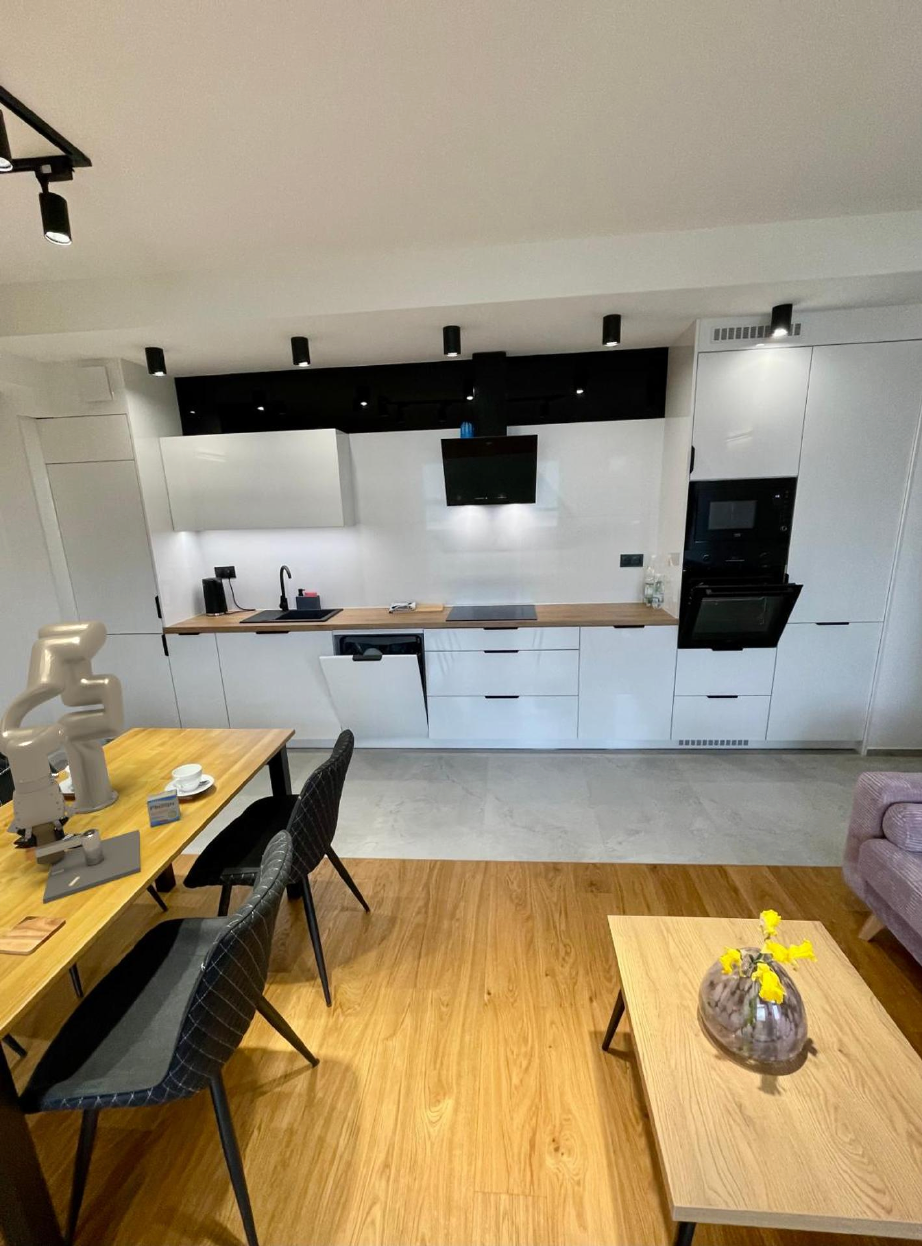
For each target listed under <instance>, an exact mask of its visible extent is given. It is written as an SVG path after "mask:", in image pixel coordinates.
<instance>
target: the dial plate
mask: <svg viewBox="0 0 922 1246" xmlns="http://www.w3.org/2000/svg"><path fill="white" fill-rule="evenodd" d="M101 843H102V848H103V853H104V859H103V860H102V861H101V862H99V863H97V864H94V865H87V864H86V861H85V856H84V851H83V847H82V846H79V847H78V846H77V847H75V848H72V849H71V848H70V849H69V850H68V849H67V850H65V854H64V856H63V857H61V858H60V859H59V860H57V861H55V862H52V863H50V867H49V872H48V876H47V878H46V879H47V880H46V884H45V888H44V892H43V897H42V903H43V904H44V905H45V904H47V903H48V904H49V903H50V902H53V901H56V900H59V899H62V898H66V897H68V896H71V895H74V894H77V893H80V892H84V891H85V890H86V891H87V890H90V889H92V888H95V887H99V886H102V885H105V884H107V883H110V882H113V881H116V880H119V879H122V878H125V877H128V876H131V875H135V874H137V873H140V872H141V843H140V829H136V830H133V831H132V830H131V831H130V832H125V833H123V834H119V835H116V836H115V835H114V836H112V837H109V838H106V839H101Z"/></svg>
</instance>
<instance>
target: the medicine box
mask: <svg viewBox="0 0 922 1246" xmlns="http://www.w3.org/2000/svg"><path fill="white" fill-rule="evenodd" d="M146 807H147V813H148V818H149V824H150V828H155V827H159V826H163V825H167V824H169V823H170V824H171V823H173V822H178V821H180V820H181V810H180V802H179V796H178V790H177V788H174V789H170V790H167V791H162V792H157V793H154V794H150V795H147V796H146Z"/></svg>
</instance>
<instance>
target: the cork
mask: <svg viewBox="0 0 922 1246" xmlns="http://www.w3.org/2000/svg"><path fill="white" fill-rule="evenodd" d="M55 830H56V826H55V825H54V823H53V822H49V823H45V824H41V825H37V826H34V827H32V833H33V834H34V835H35V836H36V846H37V847H39V846H43V845H46V844H50V843H53V842H57V838H56V833H55ZM65 851H66V849H65V850H61V851H58V852H55V853H51V854H48V855H44V856H41V857H38V858H36V863H37V865H40V866H41V865H43V866H44V865H50V864H51V863H52V862H55V861H57V860H59V859H60V858H61V857H63V856H64V854H65Z"/></svg>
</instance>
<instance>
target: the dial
mask: <svg viewBox="0 0 922 1246" xmlns="http://www.w3.org/2000/svg"><path fill="white" fill-rule="evenodd" d="M101 841H102V839H101V834H100V830H99V829H98V828H90V829H86V831H84V832H83V833H81V834H78V835H74V836H71V837H67V838H63V839H62V840H60V841H57V842H53V843H50V844H46V845H43V846H39V847H36V848H35V847H31V848H30V847H28V848H25V851H24V856H25V857H24V858H25V861H26V863H29V862H32V861H34V860H37V858H38V857H41V856H44V855H48V854H51V853H55V852H58V851H61V850H65V851H66V850H68V849H71V848H74V847H75V848H76V847H78V846H81V847H83V851H84V856H85V861H86V864H87V865H94V864H97V863H99V862H101V861H102V860H103V859H104V853H103V848H102V843H101Z"/></svg>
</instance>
